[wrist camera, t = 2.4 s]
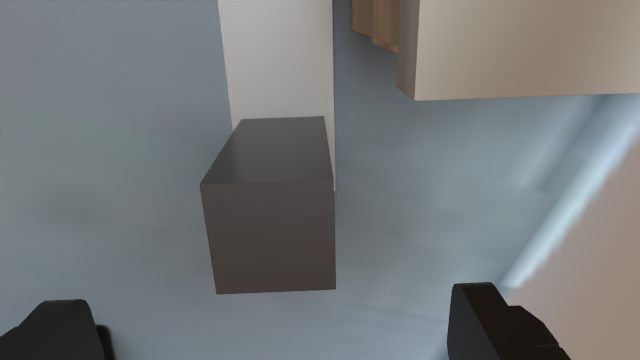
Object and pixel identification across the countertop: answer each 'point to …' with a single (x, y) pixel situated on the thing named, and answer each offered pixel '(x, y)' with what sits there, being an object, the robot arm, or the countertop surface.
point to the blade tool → (275, 150)
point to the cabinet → (506, 46)
